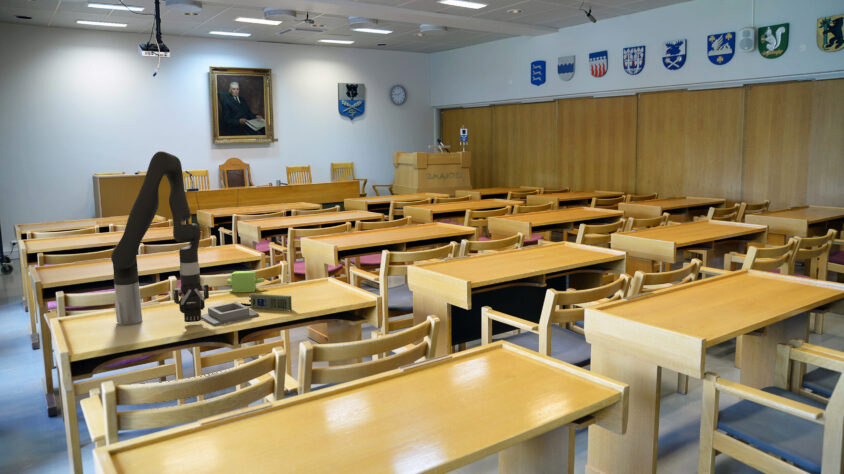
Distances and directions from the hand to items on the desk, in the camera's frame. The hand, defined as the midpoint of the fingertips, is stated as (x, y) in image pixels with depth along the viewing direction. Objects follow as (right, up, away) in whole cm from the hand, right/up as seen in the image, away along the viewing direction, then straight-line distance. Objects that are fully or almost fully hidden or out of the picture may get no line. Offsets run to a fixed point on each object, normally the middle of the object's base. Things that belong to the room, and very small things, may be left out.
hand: (192, 310), depth 259 cm
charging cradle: (+12, -4, +11) cm, 17 cm away
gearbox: (+7, +4, +55) cm, 56 cm away
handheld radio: (+25, -2, +23) cm, 34 cm away
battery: (0, -5, +1) cm, 5 cm away
